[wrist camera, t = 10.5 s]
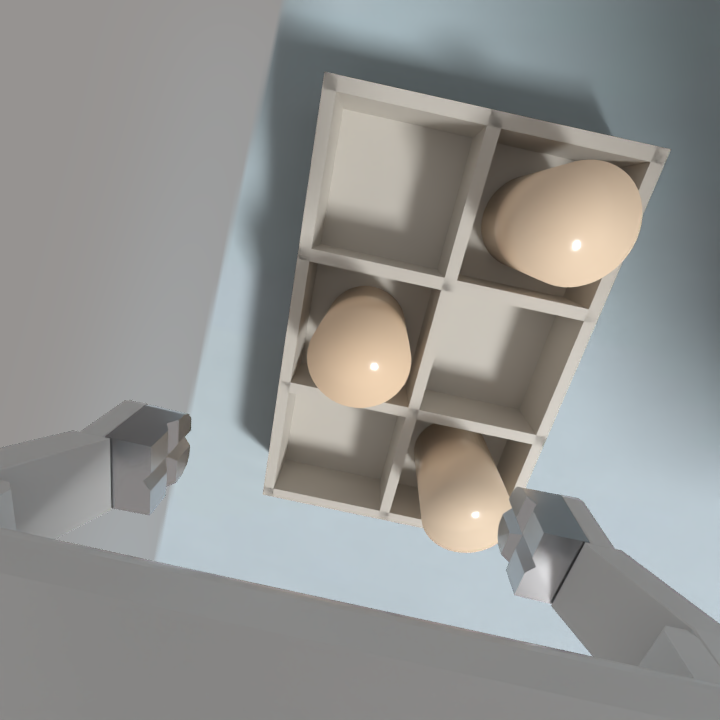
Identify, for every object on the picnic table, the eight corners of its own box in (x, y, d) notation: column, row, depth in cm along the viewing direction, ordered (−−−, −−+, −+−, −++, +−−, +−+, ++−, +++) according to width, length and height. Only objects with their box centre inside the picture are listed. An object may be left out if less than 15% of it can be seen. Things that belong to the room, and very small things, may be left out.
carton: (623, 159, 20) (671, 149, 17) (487, 504, 28) (500, 544, 24) (334, 95, 20) (324, 71, 17) (277, 459, 28) (262, 494, 24)
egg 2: (495, 428, 25) (527, 490, 19) (473, 487, 27) (497, 560, 21) (424, 412, 25) (435, 470, 19) (406, 472, 27) (411, 542, 21)
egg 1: (413, 295, 22) (423, 322, 17) (395, 369, 24) (397, 417, 18) (333, 278, 22) (315, 299, 17) (320, 353, 24) (299, 396, 18)
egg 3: (586, 185, 20) (664, 174, 14) (553, 275, 22) (611, 297, 16) (496, 165, 20) (540, 147, 14) (470, 258, 22) (500, 274, 16)
